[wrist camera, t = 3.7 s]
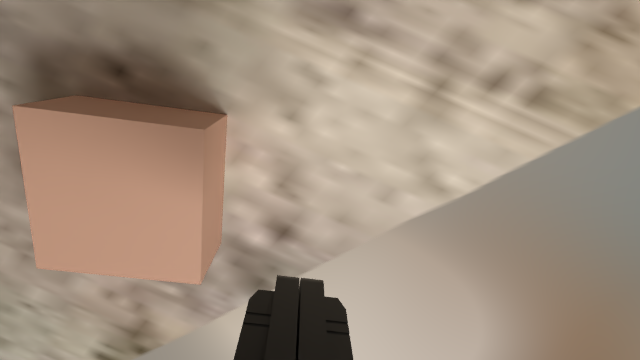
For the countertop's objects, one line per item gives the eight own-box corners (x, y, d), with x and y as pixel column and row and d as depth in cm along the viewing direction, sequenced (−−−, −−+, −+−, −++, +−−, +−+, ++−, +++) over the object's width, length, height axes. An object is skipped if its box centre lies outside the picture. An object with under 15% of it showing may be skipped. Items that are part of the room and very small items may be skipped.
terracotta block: (79, 94, 19) (12, 105, 15) (228, 114, 20) (204, 129, 15) (91, 226, 22) (36, 268, 17) (222, 240, 22) (200, 284, 18)
